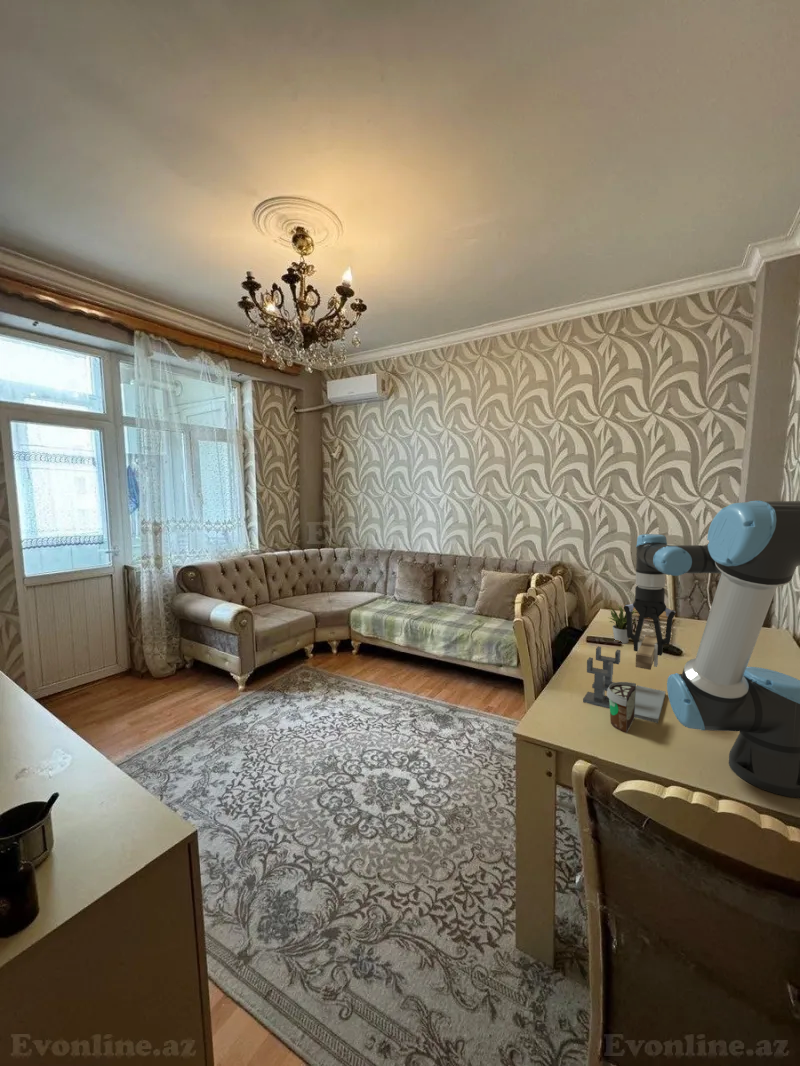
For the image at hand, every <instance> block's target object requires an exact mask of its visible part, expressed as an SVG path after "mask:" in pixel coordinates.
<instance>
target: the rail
mask: <svg viewBox="0 0 800 1066" xmlns="http://www.w3.org/2000/svg"><path fill="white" fill-rule="evenodd" d="M656 642H657V638H656V635H650V634H649V635H648V634H645V635H644V638H643V640H642V644H641V646H640V648H639V650H638V652H637V651H636V653H635V667H636V668H639V669H644V670H649V671H651V670H652V666H653V665H654V647H655V643H656Z"/></svg>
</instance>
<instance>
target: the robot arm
mask: <svg viewBox="0 0 800 1066" xmlns="http://www.w3.org/2000/svg"><path fill="white" fill-rule="evenodd" d="M706 537H707V539H706V540H707V541H708V544H706V545H705V544H704V545H703V544H702V545H700V544H697V545H696V544H695V545H693V544H691V545H690V544H689V545H686V544H685V545H684V544H683V545H680V544H678V545H677V544H675V545H674V544H673V545H672V544H668V541H667V536H665V535H664V534H657V533H643V534H639V535H638V536H637V537H636V538H637V540H636V545H635V549H636V551H635V552H636V557H635V558H636V559H635V561H636V562H635V563H636V564H635V585H636V586H635V590H634V591H635V594H634V595H635V596H634V598H635V599H634V601H633V603H630V604H625V605H624V607H623V611H624V612H625V614H626V619H627V637H628V638H629V639H631V640H632V641H633V651H634V652H636V653H637V652H638V650H639V648H640V646H641V644H642V642H643V640H642V639H640V637H641V633H642V629H643V624H644V621H645V619H648V618H649V619H652V622H653V627H654V633H655V636H656V638H657V642H656V643H655V647H654V662H653V667H655V668H657V667H658V664H659V656H662V655H663V648H664V645H670V643H671V636H672V628H673V620H674V617H675V616H676V613H677V612H676V610H675V609H670V608H668V607H667V605H666V603H665V596H666V595H665V594H666V590H665V588H664V587H666V575H668V576H672V577H673V576H674V577H677V576H678V577H679V576H682V575H684V574H720V577H719V580H718V583H717V587H716V590H715V593H714V597H713V600H712V603H711V607H710V610H709V613H708V615H707V616H708V617H707V620H706V623H705V626H704V629H703V632H702V636H701V640H700V642H699V643H700V644H699V647H698V650H697V653H696V656H695V657H694V658H692V659H690V660H687V662H686V663H685V665H684V667H683V669H682V673H676V672H675V673H672V674H669V676H668V677H667V681H666V682H667V683H666V689H667V697H668V700H669V703H670V706H671V709H672V710H671V711H673V714H674V715H675V717H676V719H677V721H678V722H679V723H680V724H681V725H682V726H683V727H685V728H688V729H691V730H693V729H694V730H700V731H715V732H717V731H721V732H722V731H723V732H739V734H738V736H737V737H736V739H735V741H734V744H733V745H732V747H731V748H730V751H729V754H728V766H729V768H730V769H731V771H732V772H733V773H734V774H736V776H737V777H739V778H741V779H742V780H743V781H745V782H746V783H748V784H750V785H752V786H754V787H756V788H759V789H761V790H764V791H765V792H769V793H772V794H776V795H778V796H779V795H780V796H785V797H789V798H796V799H797V798H799V799H800V680H799V679H798V678H796V677H793V676H790V675H788V674H785V673H782V672H780V671H776V670H772V669H767V668H763V667H757V666H748V665H749V662H750V660H751V657H752V654H753V651H754V649H755V646H756V644H757V641H758V639H759V636H760V633H761V631H762V627H763V625H764V622H765V620H766V618H767V614H768V611H769V609H770V606H771V604H772V600H773V598H774V596H775V593H776V590H777V588H778V587H782V586H786V585H787V584H789V583H790V582H791V581H792V579H793V576H794V574H795V571H796V569H797V567H799V566H800V500H796V501H795V500H790V501H789V500H785V501H784V500H781V501H764V500H751V501H747V502H745V501H744V502H734V503H731V504H729V505H727V506H725V507H723V508H722V509H720V510H719V511H718V512H717V513H716V514H715V516H714V517H713V519H712V520H711V522H710V525H709V527H708V532H707V536H706ZM634 609H635V610H636V611H637V612H636V613H638V614H639V616H638V620H637V623H636V628H635V633H634V631H633V627H634V626H633V625H634V624H632V623H633V622H632V621H633V617H632V616H633V614H632V611H634ZM663 613H665V615H666V617H667V618H666V627H665V635H664V638H663V634H662V629H661V628H662V627H661V621H660V616H661V615H662V614H663Z"/></svg>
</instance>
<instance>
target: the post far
mask: <svg viewBox="0 0 800 1066" xmlns="http://www.w3.org/2000/svg"><path fill="white" fill-rule="evenodd" d="M614 654H615V655H614V657H610V656H605V655H602V646H599V645H598V646H596V648H595V661H599V662H602V669H603V670H608V663H609V661H611V662H613V665H620V663H621V650H620V649H616V651H615V652H614ZM612 683H616V682H615V681H613V676H612V677H606V676H605V692H607V690H608V687H609V685H610V684H612ZM591 688H592V689H594V682H593V683H592V685H591Z"/></svg>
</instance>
